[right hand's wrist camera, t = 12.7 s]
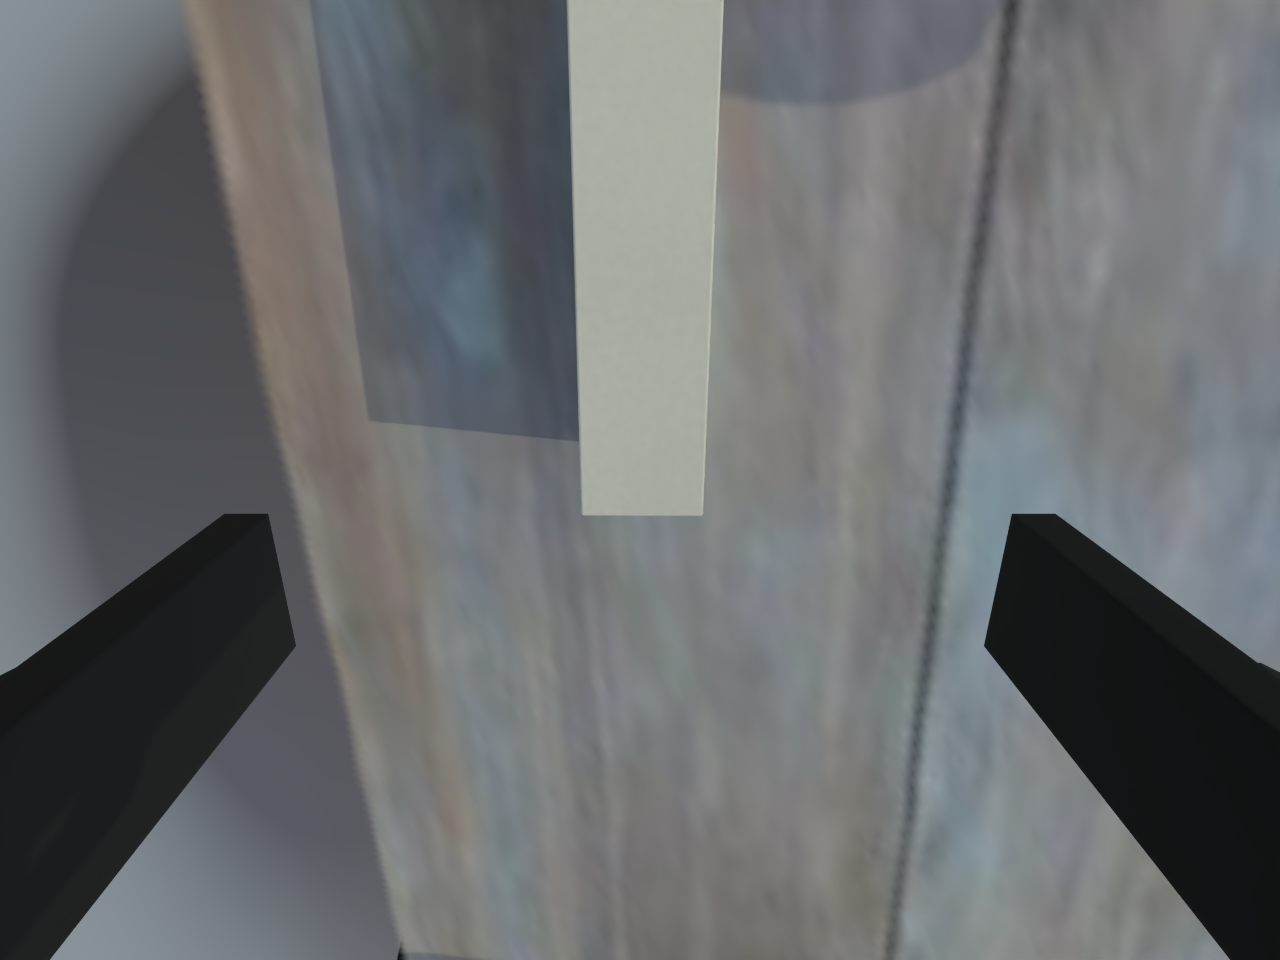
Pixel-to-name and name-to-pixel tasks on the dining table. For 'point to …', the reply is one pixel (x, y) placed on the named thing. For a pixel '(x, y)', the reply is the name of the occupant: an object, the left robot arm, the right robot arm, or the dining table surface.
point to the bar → (643, 246)
